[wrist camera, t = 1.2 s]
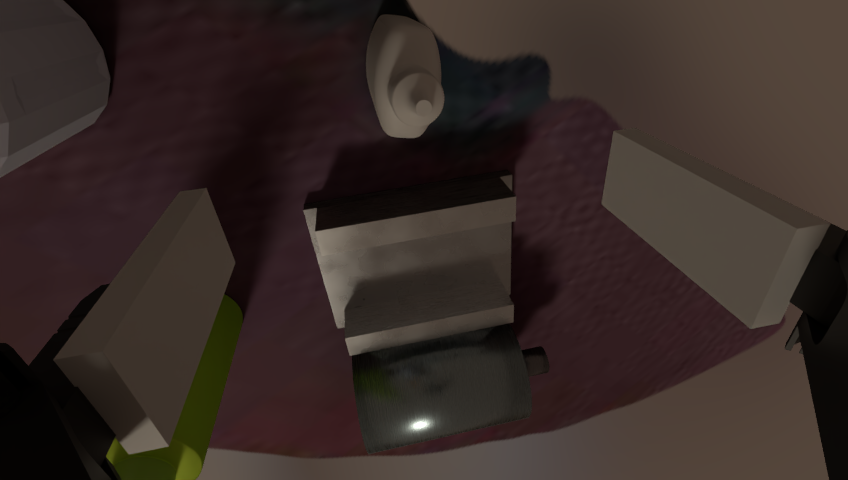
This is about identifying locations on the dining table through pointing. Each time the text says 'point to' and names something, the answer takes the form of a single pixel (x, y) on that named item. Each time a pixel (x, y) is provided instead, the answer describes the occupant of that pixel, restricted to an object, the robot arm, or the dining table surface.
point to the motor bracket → (427, 307)
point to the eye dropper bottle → (404, 75)
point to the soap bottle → (46, 78)
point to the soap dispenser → (190, 410)
